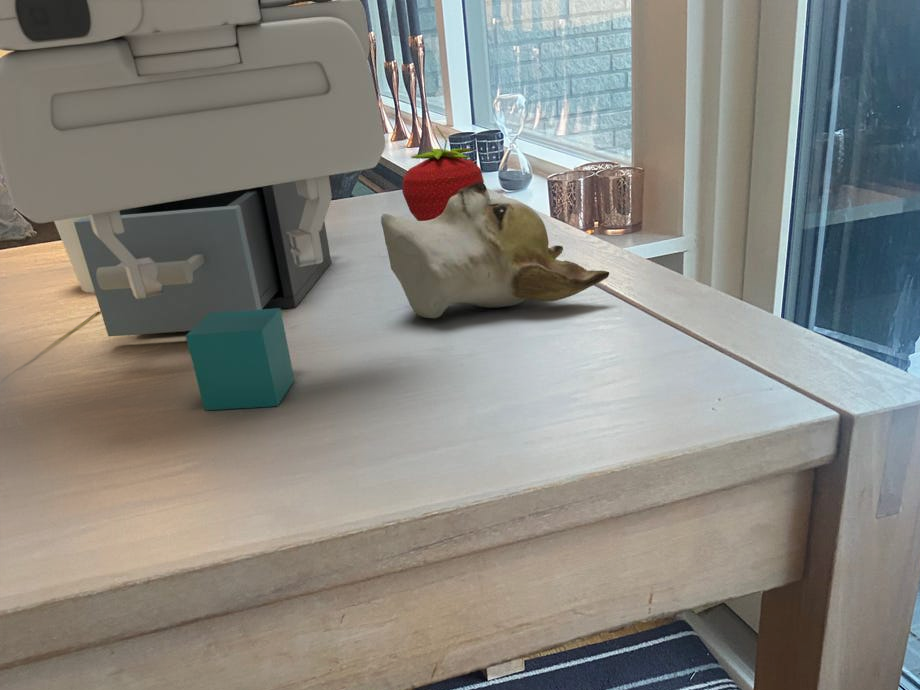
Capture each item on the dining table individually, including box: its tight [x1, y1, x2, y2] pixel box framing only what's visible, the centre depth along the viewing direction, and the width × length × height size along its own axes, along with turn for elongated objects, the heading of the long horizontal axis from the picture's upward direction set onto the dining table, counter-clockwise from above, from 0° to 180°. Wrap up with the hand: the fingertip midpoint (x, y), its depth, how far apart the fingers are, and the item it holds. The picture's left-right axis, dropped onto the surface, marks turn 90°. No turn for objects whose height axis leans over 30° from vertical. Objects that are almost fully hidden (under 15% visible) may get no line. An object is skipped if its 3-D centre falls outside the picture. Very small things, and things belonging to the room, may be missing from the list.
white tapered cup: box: [53, 215, 95, 294], centre depth 84 cm, size 7×7×7 cm
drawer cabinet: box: [262, 181, 332, 310], centre depth 79 cm, size 15×13×10 cm
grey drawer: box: [74, 186, 282, 337], centre depth 70 cm, size 18×11×8 cm, turn 176°
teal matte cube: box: [185, 308, 295, 411], centre depth 57 cm, size 4×4×4 cm
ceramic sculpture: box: [380, 182, 610, 319], centre depth 68 cm, size 11×9×15 cm
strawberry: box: [401, 125, 485, 221], centre depth 84 cm, size 6×8×10 cm
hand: (230, 279), depth 55 cm, fingers open, 8 cm apart
